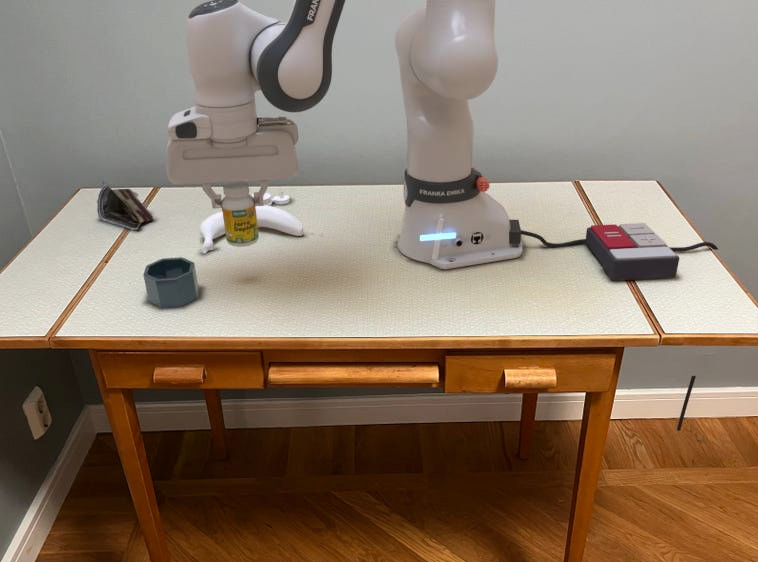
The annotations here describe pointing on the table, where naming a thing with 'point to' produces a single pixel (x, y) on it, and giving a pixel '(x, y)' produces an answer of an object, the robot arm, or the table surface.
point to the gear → (275, 199)
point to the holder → (171, 282)
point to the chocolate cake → (122, 208)
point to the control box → (631, 252)
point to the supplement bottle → (239, 214)
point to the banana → (265, 218)
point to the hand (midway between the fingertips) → (238, 205)
